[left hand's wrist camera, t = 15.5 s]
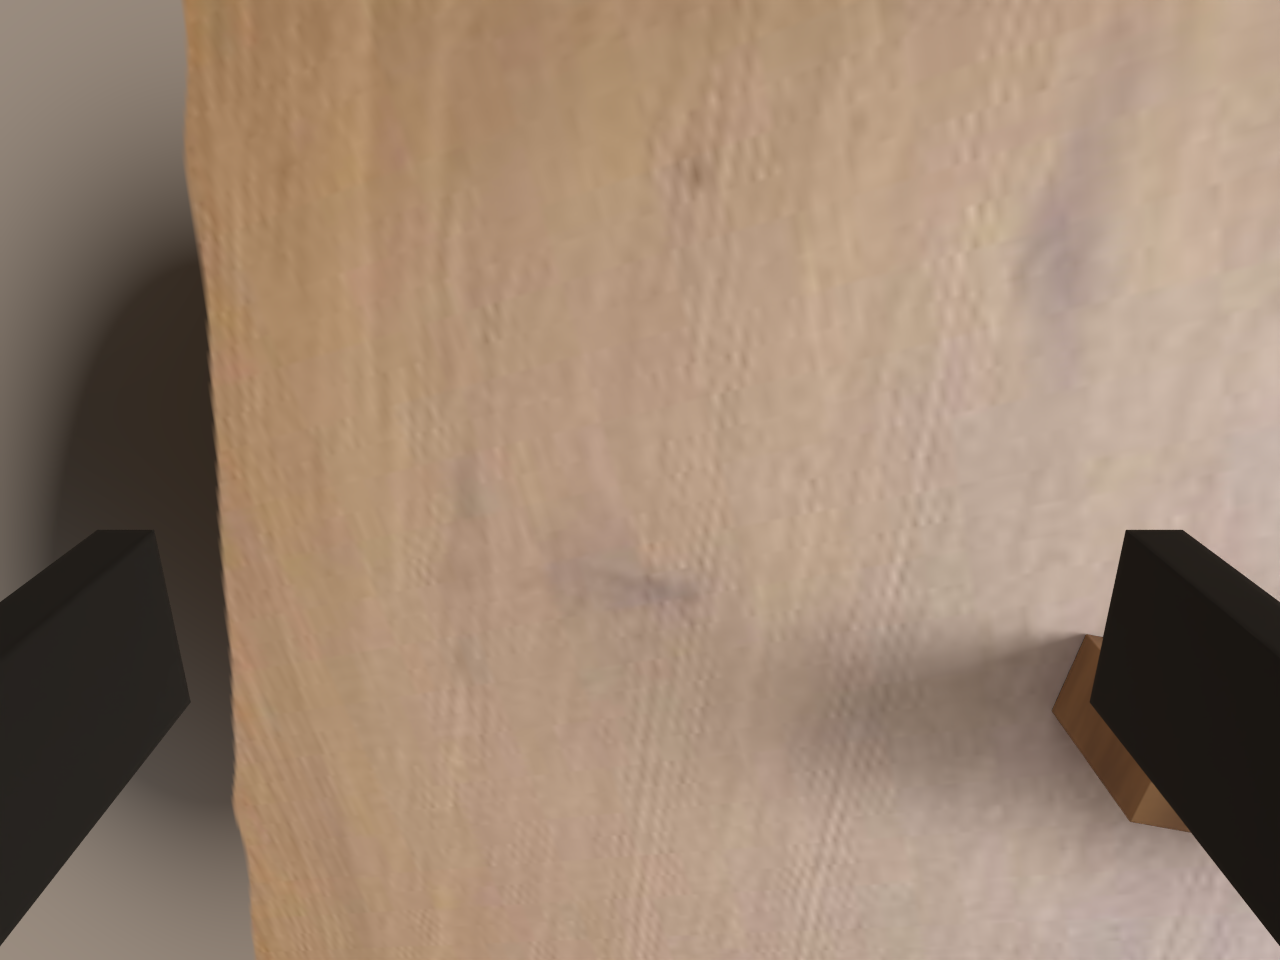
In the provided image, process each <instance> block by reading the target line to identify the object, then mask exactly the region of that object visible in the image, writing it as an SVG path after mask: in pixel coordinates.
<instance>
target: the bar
mask: <svg viewBox="0 0 1280 960" xmlns="http://www.w3.org/2000/svg"><path fill="white" fill-rule="evenodd" d="M1102 640H1103V637H1098V636H1093V635H1088V634H1086V636H1085V638H1084V640H1083V643H1082V645H1081V647H1080V649H1079V651H1078V654H1077V656H1076V658H1075V660H1074V663H1073V665H1072V667H1071V669H1070V671H1069V674H1068V676H1067V678H1066V680H1065V683H1064V685H1063V687H1062V689H1061V691H1060V694H1059V696H1058V698H1057V700H1056V703H1055V705H1054V707H1053V709H1052V712H1053V713H1054V715H1055V716H1056V718H1057V719H1058V721H1059V722H1060V723H1061V725H1062V726H1063V728H1064V729H1065V730H1066V732H1067V733H1068V735H1069V736H1070V738H1071V739H1072V740H1073V742H1074V743H1075V745H1076V746H1077V747H1078V749H1079V750H1080V752H1081V753H1082V755H1083V756H1084V757H1085V759H1086V760H1087V762H1088V763H1089V764H1090V766H1091V767H1092V769H1093V770H1094V772H1095V773H1096V774H1097V776H1098V777H1099V779H1100V780H1101V781H1102V783H1103V784H1104V786H1105V787H1106V789H1107V790H1108V791H1109V793H1110V794H1111V796H1112V797H1113V798H1114V800H1115V801H1116V803H1117V804H1118V806H1119V807H1120V808H1121V810H1122V811H1123V813H1124V814H1125V815H1126V817H1127V818H1128V820H1129V821H1130V822H1135V823H1140V824H1146V825H1151V826H1157V827H1163V828H1168V829H1174V830H1179V831H1185V832H1190V830H1189V829H1188V828H1187V827H1186V825H1185V824H1184V823H1183V821H1182V820H1181V819H1180V818H1179V816H1178V815H1177V814H1176V812H1175V811H1174V810H1173V809H1172V807H1171V806H1170V805H1169V803H1168V802H1167V801H1166V800H1165V798H1164V797H1163V796H1162V795H1161V793H1160V792H1159V791H1158V789H1157V788H1156V787H1155V786H1154V784H1153V783H1152V782H1151V780H1150V779H1149V778H1148V777H1147V775H1146V774H1145V773H1144V771H1143V770H1142V769H1141V768H1140V766H1139V765H1138V764H1137V763H1136V761H1135V760H1134V759H1133V757H1132V756H1131V755H1130V754H1129V752H1128V751H1127V750H1126V748H1125V747H1124V746H1123V745H1122V743H1121V742H1120V741H1119V739H1118V738H1117V737H1116V736H1115V734H1114V733H1113V732H1112V731H1111V729H1110V728H1109V727H1108V725H1107V724H1106V723H1105V722H1104V720H1103V719H1102V718H1101V716H1100V715H1099V714H1098V713H1097V711H1096V710H1095V709H1094V707H1093V706H1092V705H1091V704H1090V697H1091V692H1092V688H1093V683H1094V678H1095V673H1096V669H1097V664H1098V659H1099V655H1100V650H1101V645H1102Z"/></svg>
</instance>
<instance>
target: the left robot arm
mask: <svg viewBox="0 0 1280 960" xmlns="http://www.w3.org/2000/svg"><path fill="white" fill-rule="evenodd" d="M189 704H190V697H189V693H188V688H187V683H186V678H185V673H184V669H183V664H182V659H181V655H180V650H179V645H178V641H177V636H176V631H175V626H174V622H173V617H172V612H171V607H170V603H169V598H168V593H167V589H166V584H165V579H164V574H163V570H162V565H161V560H160V555H159V551H158V546H157V541H156V537H155V532H154V530H97V531H95V532H94V533H93V534H91V535H90V536H89V537H87V538H86V539H85V540H83V541H82V542H81V543H79V544H78V545H76V546H75V547H74V548H72V549H71V550H70V551H68V552H67V553H66V554H64V555H63V556H62V557H60V558H59V559H58V560H56V561H55V562H54V563H52V564H51V565H50V566H48V567H47V568H46V569H44V570H43V571H42V572H40V573H39V574H37V575H36V576H35V577H33V578H32V579H31V580H29V581H28V582H27V583H25V584H24V585H23V586H21V587H20V588H19V589H17V590H16V591H15V592H13V593H12V594H11V595H9V596H8V597H7V598H5V599H4V600H2V601H1V602H0V946H1V944H2V943H3V942H4V940H5V939H6V938H7V937H8V935H9V934H10V933H11V931H12V930H13V929H14V928H15V926H16V925H17V924H18V923H19V921H20V920H21V919H22V917H23V916H24V915H25V914H26V912H27V911H28V910H29V908H30V907H31V906H32V905H33V903H34V902H35V901H36V899H37V898H38V897H39V896H40V894H41V893H42V892H43V891H44V889H45V888H46V887H47V885H48V884H49V883H50V882H51V880H52V879H53V878H54V876H55V875H56V874H57V873H58V871H59V870H60V869H61V867H62V866H63V865H64V864H65V862H66V861H67V860H68V858H69V857H70V856H71V855H72V853H73V852H74V851H75V850H76V848H77V847H78V846H79V844H80V843H81V842H82V841H83V839H84V838H85V837H86V835H87V834H88V833H89V832H90V830H91V829H92V828H93V827H94V825H95V824H96V823H97V821H98V820H99V819H100V818H101V816H102V815H103V814H104V812H105V811H106V810H107V809H108V807H109V806H110V805H111V803H112V802H113V801H114V800H115V798H116V797H117V796H118V795H119V793H120V792H121V791H122V789H123V788H124V787H125V785H126V784H127V783H128V782H129V780H130V779H131V778H132V777H133V775H134V774H135V773H136V771H137V770H138V769H139V768H140V766H141V765H142V764H143V762H144V761H145V760H146V759H147V757H148V756H149V755H150V754H151V752H152V751H153V750H154V748H155V747H156V746H157V745H158V743H159V742H160V741H161V739H162V738H163V737H164V736H165V734H166V733H167V732H168V730H169V729H170V728H171V727H172V725H173V724H174V723H175V721H176V720H177V719H178V718H179V716H180V715H181V714H182V713H183V711H184V710H185V709H186V707H187V706H188V705H189ZM1090 704H1091V705H1092V706H1093V707H1094V709H1095V710H1096V711H1097V713H1098V714H1099V715H1100V716H1101V718H1102V719H1103V720H1104V722H1105V723H1106V724H1107V725H1108V727H1109V728H1110V729H1111V731H1112V732H1113V733H1114V734H1115V736H1116V737H1117V738H1118V739H1119V741H1120V742H1121V743H1122V745H1123V746H1124V747H1125V748H1126V750H1127V751H1128V752H1129V754H1130V755H1131V756H1132V757H1133V759H1134V760H1135V761H1136V763H1137V764H1138V765H1139V766H1140V768H1141V769H1142V770H1143V771H1144V773H1145V774H1146V775H1147V777H1148V778H1149V779H1150V780H1151V782H1152V783H1153V784H1154V786H1155V787H1156V788H1157V789H1158V791H1159V792H1160V793H1161V795H1162V796H1163V797H1164V798H1165V800H1166V801H1167V802H1168V803H1169V805H1170V806H1171V807H1172V809H1173V810H1174V811H1175V812H1176V814H1177V815H1178V816H1179V818H1180V819H1181V820H1182V821H1183V823H1184V824H1185V825H1186V827H1187V828H1188V829H1189V830H1190V832H1191V833H1192V834H1193V835H1194V837H1195V838H1196V839H1197V841H1198V842H1199V843H1200V844H1201V846H1202V847H1203V848H1204V850H1205V851H1206V852H1207V853H1208V855H1209V856H1210V857H1211V859H1212V860H1213V861H1214V862H1215V864H1216V865H1217V866H1218V867H1219V869H1220V870H1221V871H1222V873H1223V874H1224V875H1225V876H1226V878H1227V879H1228V880H1229V882H1230V883H1231V884H1232V885H1233V887H1234V888H1235V889H1236V891H1237V892H1238V893H1239V894H1240V896H1241V897H1242V898H1243V899H1244V901H1245V902H1246V903H1247V905H1248V906H1249V907H1250V908H1251V910H1252V911H1253V912H1254V914H1255V915H1256V916H1257V917H1258V919H1259V920H1260V921H1261V923H1262V924H1263V925H1264V926H1265V928H1266V929H1267V930H1268V932H1269V933H1270V934H1271V935H1272V937H1273V938H1274V939H1275V940H1276V942H1277V943H1278V944H1279V946H1280V602H1279V601H1278V600H1276V599H1275V598H1274V597H1272V596H1271V595H1269V594H1268V593H1267V592H1265V591H1264V590H1263V589H1261V588H1260V587H1259V586H1257V585H1256V584H1255V583H1253V582H1252V581H1251V580H1249V579H1248V578H1247V577H1245V576H1244V575H1243V574H1241V573H1240V572H1239V571H1237V570H1236V569H1234V568H1233V567H1232V566H1230V565H1229V564H1228V563H1226V562H1225V561H1224V560H1222V559H1221V558H1220V557H1218V556H1217V555H1216V554H1214V553H1213V552H1212V551H1210V550H1209V549H1208V548H1206V547H1205V546H1204V545H1202V544H1201V543H1199V542H1198V541H1197V540H1195V539H1194V538H1193V537H1191V536H1190V535H1189V534H1187V533H1186V532H1185V531H1183V530H1126V532H1125V537H1124V541H1123V546H1122V551H1121V555H1120V560H1119V565H1118V570H1117V574H1116V579H1115V584H1114V588H1113V593H1112V598H1111V603H1110V607H1109V612H1108V617H1107V622H1106V626H1105V631H1104V636H1103V640H1102V645H1101V650H1100V655H1099V659H1098V664H1097V669H1096V673H1095V678H1094V683H1093V688H1092V692H1091V697H1090Z"/></svg>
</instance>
